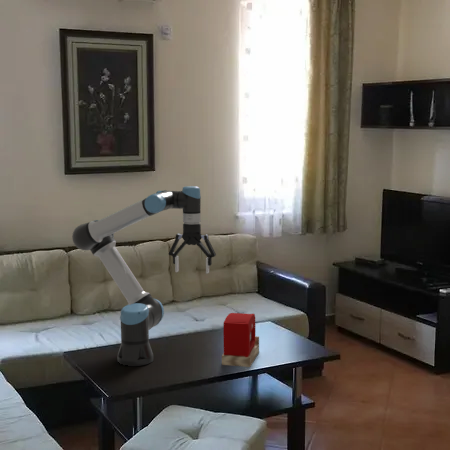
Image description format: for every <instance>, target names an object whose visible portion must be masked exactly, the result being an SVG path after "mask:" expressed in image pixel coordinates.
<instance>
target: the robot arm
mask: <svg viewBox="0 0 450 450" xmlns="http://www.w3.org/2000/svg"><path fill="white" fill-rule="evenodd" d="M201 199H202V198H201V188H200V187H199V186H196V185H195V186H194V185H189V186H185V185H184V186H183V187H182V190H166V189H165V190H158V191H156V193H152V194H150V195H148V196H147V197H145V198H143V199H141V200H138V201H136V202H134V203H133V204H130V205H128V206H126V207H124V208H122V209H119V210H118V211H116V212H114V213H111V214H109V215H107V216H105V217H103V218H101V219H99V220H98V219H95V220H92V221H89V222H86V223H81V224H80V225H77V226H76V227H75V228H74V230H73V231H72V236H71V237H72V238H71V239H72V242H73V245H74V246H75V247H76V248H77V249H79V250H81V251H90V252H91V253H92V255H93V256H94V257H97V258H99V260H100V261H101V263H102V264H103V266H104V267H105V269H106V271H107V272H108V273H109V275H110V276H111V278H112V280H113V282H114V283H115V284H116V286H117V287H118V289H119V290H120V292H121V294H122V295H123V297H124V298H125V299H126V301H127V304H126V305H125V306H123V307H122V308H121V309H120V315H119V319H120V340H121V341H120V346H119V350H118V352H117V363H118V362H119V363H120V365H121V364H123V365H122V366H125V365H128V366H127V367H139V366H141V367H142V366H145V365H149V364H150V363H153V361H154V353H153V350H152V347H151V344H150V336H149V335H150V333H149V331H150V330H151V329H152V328H154V327H156V326H158V325H159V324H160V322H162V320H163V318H164V315H165V310H164V308H165V307H164V306H163V303H162V302H161V301H160V300H159V299H156V298H154V297H153V295H152V294H151V293H150V292H148V291H144V288H143V287H142V285H141V284H140V282H139V281H138V280H137V278H136V276H135V275H134V273H133V272H132V270H131V269H130V267H129V266H128V264H127V263H126V261H125V260H124V258H123V257H122V254H121V253H120V251H119V250H118V249H117V247H116V243H117V241H116V239H115V237H114V234H115V233H117V232H120V231H122V230H124V229H126V228H128V227H130V226H132V225H134V224H137V223H139V222H140V221H143V220H145V219H147V218H150V217H152V216H153V215H157V214H158V213H161V212H163V211H167V210H170V209H179V210H181V209H182V222H183V223H182V234H181V233H177V234H175V239H174V241H173V243H172V245H171V247H170V250H169V252H168V255H169V256H171V257H172V264H173V265H174V267H175V268H174V271H175V273H178V272H179V271H180V263H179V262H180V261H179V260H180V258H179V257H180V256H179V255H178V254H179V253H181V251H182V250H183V248H185V247H186V245H188V246H197V247H198V248H199V249H200V250H201V251H202V252H203V254H204V255H205V257H206V258H205V275H207V274H209V273H210V267H211V266H212V264H213V263H212V259H213V258H214V257H216V256H217V254H216V251H215V249H214V248H213V245H212V243H211V241H210V238H209V234H202V224H201V222H202V221H201V220H202V219H201V215H202V213H201V203H202V202H201ZM181 239H183V241H182V242H181V244H180V246H179V247H177V246H178V244H179V242H180V240H181ZM201 240H203V241H204V243H205V244H206V247H207V248H206V247H205V245H204V244H203V242H202V241H201ZM176 248H177V249H176ZM119 363H118V364H119Z"/></svg>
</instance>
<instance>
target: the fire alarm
mask: <svg viewBox="0 0 450 450" xmlns="http://www.w3.org/2000/svg"><path fill="white" fill-rule="evenodd" d="M255 336H256V315H255V313H241V312H230V313H228V314H227V316H226V317H225V318H224V320H223V353H224V355H235V356H245V357H248V356H249V354H250V352H251V351H252V349H253V347H254V345H255Z"/></svg>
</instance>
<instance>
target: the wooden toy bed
mask: <svg viewBox="0 0 450 450" xmlns="http://www.w3.org/2000/svg"><path fill="white" fill-rule="evenodd" d="M259 353H260V336H256V335H255V345H254V347H253V349H252V351H251V352H250V354H249V356H248V357H245V356H235V355H224V352H223V353H222V355H221V365H222V366H232V367H244V368H251V366H252V364H253V363H254V361H255V359H256V358H257V356H258V355H259Z"/></svg>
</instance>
